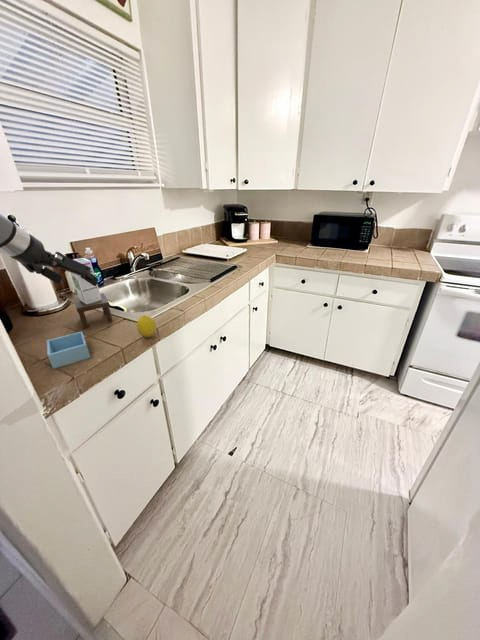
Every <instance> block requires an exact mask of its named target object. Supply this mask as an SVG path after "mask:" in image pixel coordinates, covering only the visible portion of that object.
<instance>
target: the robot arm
mask: <svg viewBox="0 0 480 640" xmlns="http://www.w3.org/2000/svg"><path fill="white" fill-rule="evenodd" d="M0 253H2V254H3V255H5V256H8V257H10V258H11V259H13V260H15V261H17V262H18V263H19V264H20V265H22V266H23V267H24V268H25V269H26V270H27V271H28V272H29V273H31V274H34V273H36V274H37V275H41V276H43V277H45V278H46V279H48V280H50V281H52V282H54V283H55V284H58V285H60V283H61V281H62V279H63V276H62V275H60V274H59V273H57V272H56V271H54V270H52V269H55V270H57V269H60V270H63V271H66V272H69V273H71V272H72V273H74V274H77V275H80V277H81V278H82V279H84V280H86V281H87V282H89V283H90V284H92V285H93V286H97V284H98V282H99V278H98V277H97V276H96V275H95V276H94V275H93V274H91V273H90V270H91V268H90V267H88V266H86V265H84V264H81V263H79V262H77V261H75V260H73V259H74V258H71V257H68V256H66V255H64V254H63V253H61V252H59V251H55V253H52V252H50V251H47V250H46V249H45V246H44V244H43V242H42V241H41V240H39V239H38V238H36V237H35V236H33V235H32V234H30V233H28V232H27V231H26V230H24V229H23V228H21V227H20V226H19V225H18V224H17V223H16V222H13V221H12V220H10V219H8V218H7V217H5V216H4V215H3V214H1V213H0ZM50 268H51V269H50Z"/></svg>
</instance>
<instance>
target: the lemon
mask: <svg viewBox="0 0 480 640" xmlns="http://www.w3.org/2000/svg"><path fill="white" fill-rule="evenodd" d="M136 328H137V332H138V333H139V334H140V336H141V337H145V338H151V336H153V335H154V333H155V332H156V323H155V321H154V319H153V318H152V317H151V316H149V315H146V314H144V315H142V316H141V317H139V318H138V320H137V322H136Z"/></svg>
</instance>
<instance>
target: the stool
mask: <svg viewBox="0 0 480 640" xmlns="http://www.w3.org/2000/svg"><path fill="white" fill-rule="evenodd" d="M100 295H101V299H102V300H100V301H97V302H94V303H90V304H84V303H83V302H81V301H80V300H79V297H77V298H73V303H74V305H75V308H76V309H75V310H76V312H77V313H78V316H79V319H80V322H81V324H82V328H83V329H85V330H87V329H89V324H88V321H87V317H86V314H85V312H88V311H89V312H90V311H93V310H97V309H102V312H103V315H105V316H106V320H107V323H113V321H114V320H113V317H112V313H111V309H110V301H109V300H108V298H107V297H106V295H105V293H104V292H103V293H100Z"/></svg>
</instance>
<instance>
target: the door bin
mask: <svg viewBox="0 0 480 640" xmlns="http://www.w3.org/2000/svg"><path fill="white" fill-rule="evenodd" d="M46 349H47V350H46V352H47V357H48V360H49V362H50V365H51V367H52V369H53V370H54V369H58V368H61V367H64V366H67V365H70V364H73V363H77V362H81V361H84V360H87V359H90V358H91V354H90V351H89V348H88V343H87V341H86V337H85V335H84V333H83V331H77V332H74V333H70V334H66V335H62V336H59V337H58V336H57V337H55V338H51V339H50V338H49V339H46Z"/></svg>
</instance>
